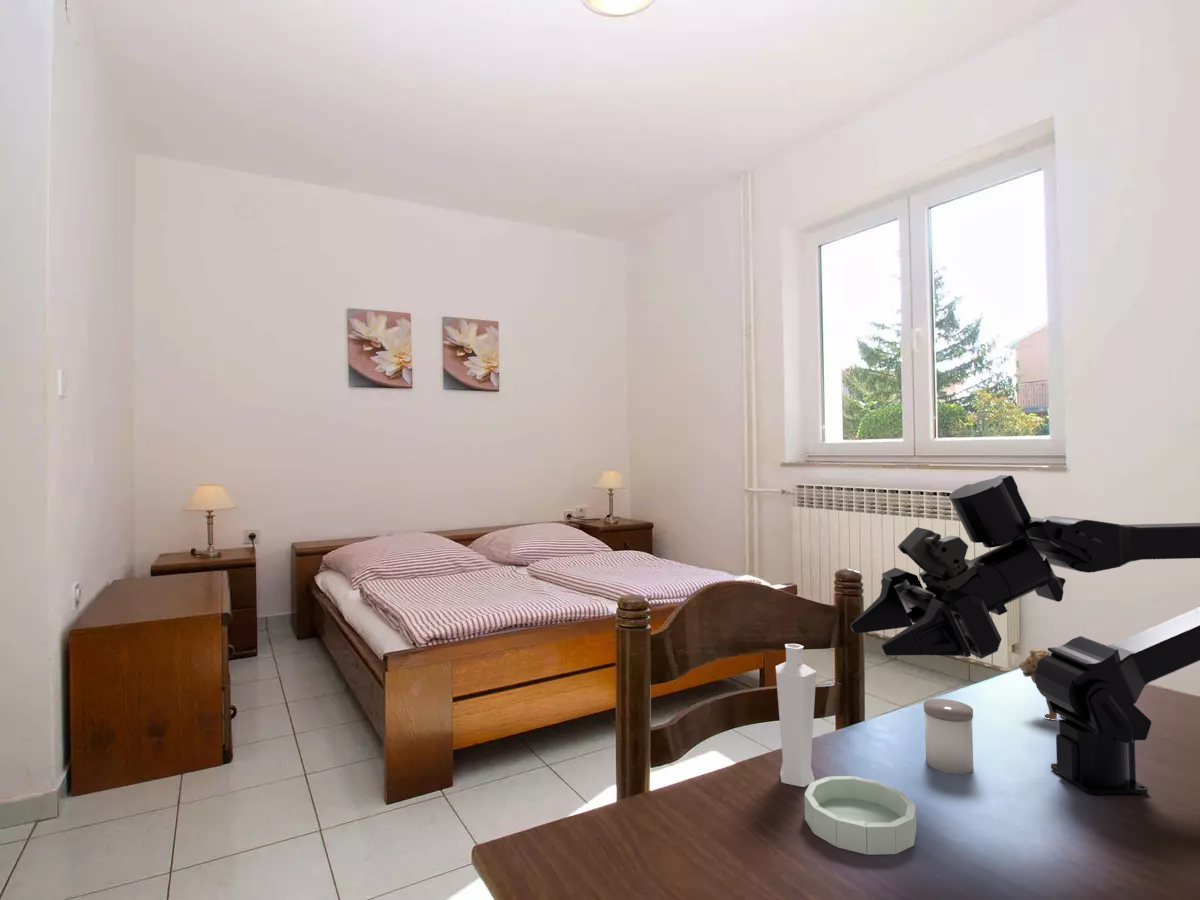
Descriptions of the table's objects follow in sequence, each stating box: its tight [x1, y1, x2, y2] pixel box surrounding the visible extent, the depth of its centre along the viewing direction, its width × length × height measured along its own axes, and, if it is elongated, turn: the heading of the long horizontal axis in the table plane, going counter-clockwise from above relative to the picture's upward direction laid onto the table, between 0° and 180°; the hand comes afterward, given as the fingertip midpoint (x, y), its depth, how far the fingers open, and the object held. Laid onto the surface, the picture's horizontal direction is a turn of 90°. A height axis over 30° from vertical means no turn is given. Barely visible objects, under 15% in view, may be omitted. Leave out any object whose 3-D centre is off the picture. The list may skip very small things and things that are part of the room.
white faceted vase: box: [775, 643, 817, 788], centre depth 76 cm, size 5×4×15 cm
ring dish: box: [804, 775, 917, 856], centre depth 66 cm, size 10×10×2 cm
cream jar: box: [923, 698, 974, 775], centre depth 80 cm, size 5×5×7 cm
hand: (866, 639), depth 76 cm, fingers open, 9 cm apart
